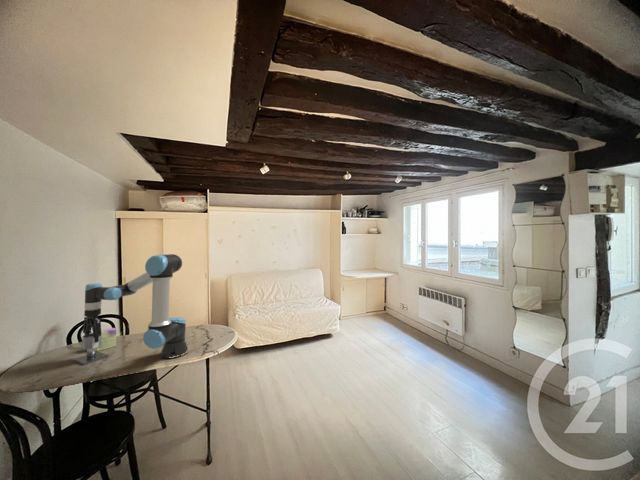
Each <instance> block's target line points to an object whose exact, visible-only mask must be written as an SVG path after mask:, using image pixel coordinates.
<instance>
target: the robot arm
mask: <svg viewBox="0 0 640 480" xmlns="http://www.w3.org/2000/svg"><path fill="white" fill-rule="evenodd" d="M182 266H183V261H182V258H181V257H180V256H179V255H177V254H172V253H170V254H156V255H152V256H150V257H149V258H148V259H147V260H146V263H145V265H144V267H145V273H142V274H141V275H139V276H137V277H135V278H133V279H132V280H130V281H128V282H127V283H124V284H120V285H119V284H118V285H114V286H108V287H106V286H103V284H102V283H100V282H93V283H87V284H86V285H85V290H84V314H83V329H82V333H83V334H84V335H87V334H90V333H93V335H94V337H92V338H93V343H92V348H96V347H98V346H99V336H101V330H102V319H100V318H99V316H100V315H101V314H102V308H101V307H102V303H103V302H102V301H103V300H104V301H116V300H118V299H119V298H122V297H127V296H131V295H135V294H136V293H137V292H138V291H140V290H141V289H143V288H145V287H146V286H148V285H150V284H152V289H151V290H152V291H151V292H152V294H151V295H152V296H151V297H152V299H151V321H150V322H149V323H148V328H147V330H146V331H145V332H144V334H143V337H142V339H143V343H144V345H145V346H147V347H148V348H149V349H153V350H156V349H159V348H161V351H160V358H161V357H162V358H161V359H164V358H169V357H173V356H177V355H181V354H183V353H185V352H186V351H187V350H188V345H187V342H186V324H187V323H186V318H185V317H179V316H178V317H177V316H176V317H170V316H169V314H170V313H169V312H170V284H171V283H170V282H171V281H170V280H171V279H172V278H173V276H174V275H173V274H174V273H177V272H178V271H180V270H181V268H182ZM188 351H189V350H188Z"/></svg>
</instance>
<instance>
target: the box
mask: <svg viewBox="0 0 640 480" xmlns="http://www.w3.org/2000/svg"><path fill="white" fill-rule="evenodd" d="M117 332H118V331H117V328H115V327H111V328H106V329H101V345H100V346H99V347H96V352H100V351H102V350H106V349H110V348H114V347H117Z"/></svg>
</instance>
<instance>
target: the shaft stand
mask: <svg viewBox="0 0 640 480" xmlns="http://www.w3.org/2000/svg"><path fill="white" fill-rule="evenodd" d="M108 357H109V354H106V353H103V352H100V351H96V348H93V349H86V354H85V355H82V356H78V357H76V358H73V359H72V361H73V362H75V363H77V364H79V365H82V366H86V365H90V364H92V363H94V362H98V361H101V360H103V359H107V358H108Z"/></svg>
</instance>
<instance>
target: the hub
mask: <svg viewBox="0 0 640 480" xmlns="http://www.w3.org/2000/svg"><path fill="white" fill-rule="evenodd" d="M92 337H94V335H93V332H92V333H89V334H87V335H85V334H84V335H82V337H81V349H82V350H87V349H93V348H92V343H93V338H92ZM100 345H101V336H99V346H100ZM99 346H98V347H99Z"/></svg>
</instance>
